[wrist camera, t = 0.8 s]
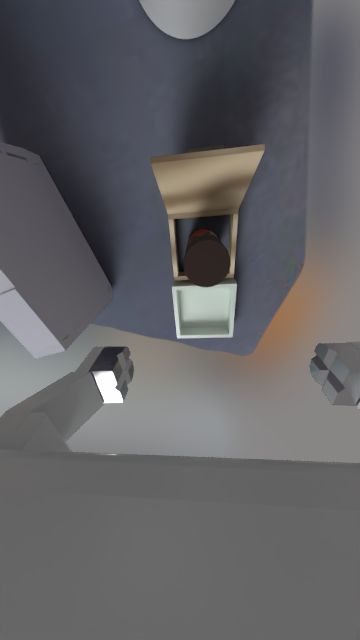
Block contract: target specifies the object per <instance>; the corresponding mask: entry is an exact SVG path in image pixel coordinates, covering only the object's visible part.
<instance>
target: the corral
mask: <svg viewBox="0 0 360 640" xmlns="http://www.w3.org/2000/svg"><path fill="white" fill-rule="evenodd" d="M238 211H239V208H234V209H222V210H211V211H199V212H188V213H176V214H168V218H169V228H170V239H171V250H172V260H173V271H174V281H176V280H189V279H188V278H187V276H186V274H185V272H179V264H178V251H177V238H176V226H175V219H181V218H193V217H205V216H217V215H229V214H230V230H229V249H228V252H229V255H230V259H231V266H230V270H229V272H228V274H227V276H226V277H225V278H234V267H235V253H236V239H237V225H238Z"/></svg>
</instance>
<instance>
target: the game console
mask: <svg viewBox="0 0 360 640" xmlns="http://www.w3.org/2000/svg"><path fill="white" fill-rule="evenodd" d="M111 300H112V286H111V284H110V283H109V281H108V279H107V277H106V275H105V274H104V272H103V270H102V268H101V266H100V265H99V263H98V261H97V259H96V257H95V256H94V254H93V252H92V250H91V248H90V247H89V245H88V243H87V241H86V239H85V238H84V236H83V234H82V232H81V230H80V229H79V227H78V225H77V223H76V221H75V220H74V218H73V216H72V214H71V212H70V211H69V209H68V207H67V205H66V203H65V201H64V200H63V198H62V196H61V194H60V192H59V191H58V189H57V187H56V185H55V183H54V182H53V180H52V178H51V176H50V174H49V173H48V171H47V169H46V167H45V165H44V164H43V162H42V160H41V158H40V156H39V155H37V154H35V153H33V152H31V151H27V150H26V149H24V148H21V147H16V146H13V145H10V144H6V143H3V142H1V141H0V321H1V322H2V323H3V324H4V325H5V326H6V327H7V328H8V330H9V331H10V332H11V333H12V334H13V335H14V336H15V337H16V338H17V339H18V340H19V341H20V342H21V343H22V344H23V346H24V347H25V348H26V349H27V350H28V351H29V352H30V353H31V354H32V355H33V357H34V358H35V359H36V358H40V357H43V356H47V355H51V354H54V353H58V352H62V351H65V350H66V349H67V348H68V347H69V346H70V345H71V344H72V343H73V342H74V341H75V340H76V338H77V337H78V336H79V335H80V334H81V333H82V331H84V330H85V329H86V328H87V326H88V325H89V324H90V323H91V322H92V321H93V320H94V319H95V318H96V317H97V315H98V314H99V313H100V312H101V311H102V310H103V309H104V308H105V307H106V306H107V305H108V303H109V302H110V301H111Z"/></svg>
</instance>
